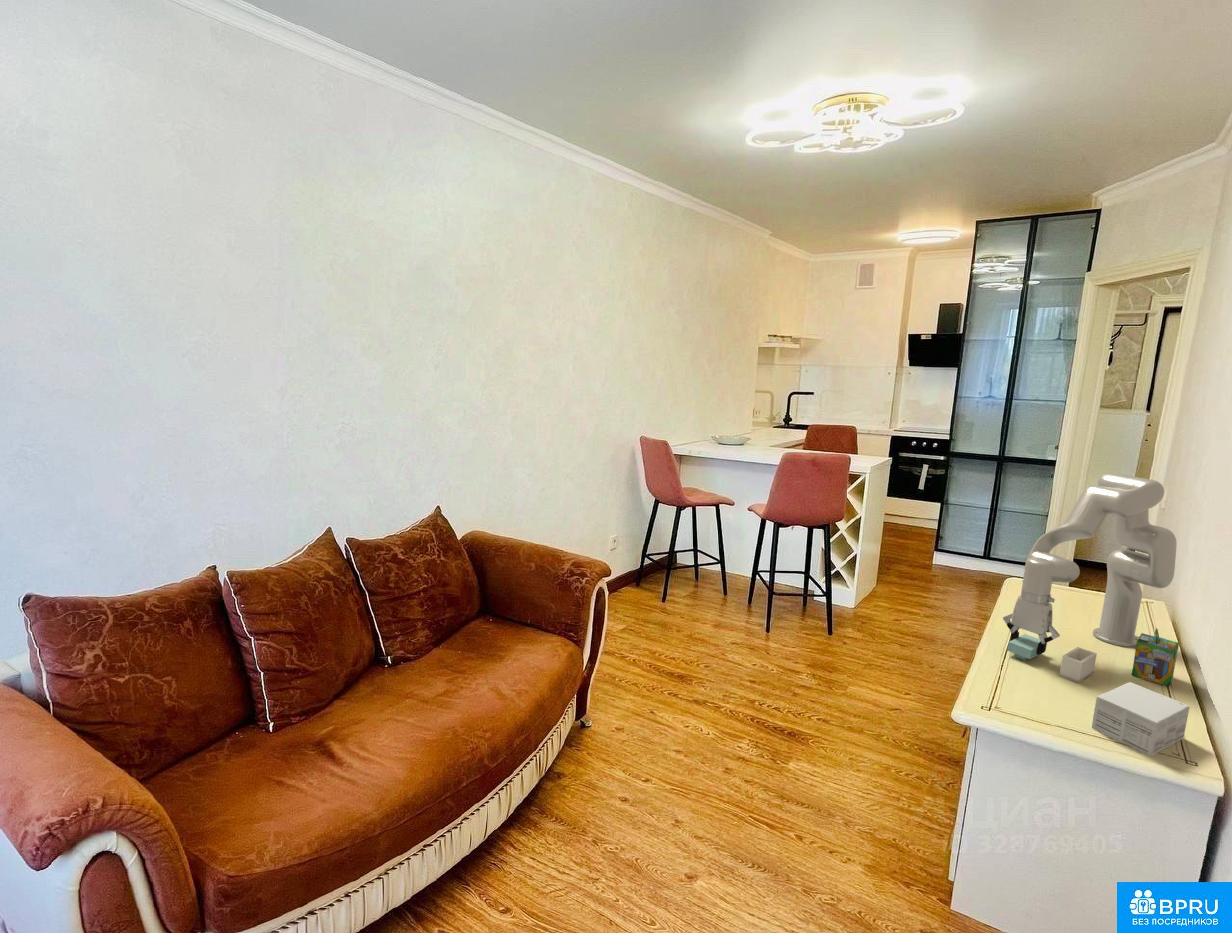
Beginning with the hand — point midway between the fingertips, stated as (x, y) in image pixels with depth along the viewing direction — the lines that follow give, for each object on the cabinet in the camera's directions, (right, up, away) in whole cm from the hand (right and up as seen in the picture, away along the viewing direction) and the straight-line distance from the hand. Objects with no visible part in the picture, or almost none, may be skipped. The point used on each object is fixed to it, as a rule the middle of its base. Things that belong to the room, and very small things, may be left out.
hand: (1027, 648), depth 198 cm
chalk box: (+31, -6, -11) cm, 33 cm away
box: (+8, -5, -11) cm, 14 cm away
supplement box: (+1, -10, -40) cm, 41 cm away
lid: (0, -1, 0) cm, 1 cm away
